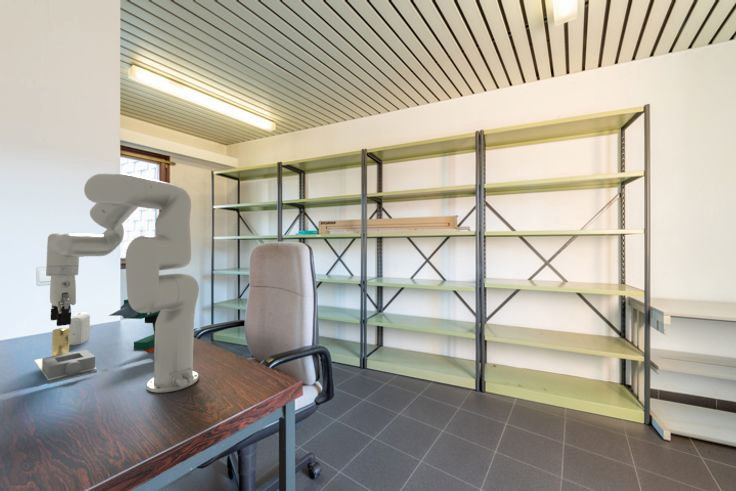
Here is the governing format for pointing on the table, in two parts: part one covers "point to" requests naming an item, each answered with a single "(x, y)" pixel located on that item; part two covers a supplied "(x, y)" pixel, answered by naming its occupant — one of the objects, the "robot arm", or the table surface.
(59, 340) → the tan rectangular block
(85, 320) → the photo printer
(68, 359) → the grey slotted block
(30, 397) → the table surface
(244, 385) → the table surface
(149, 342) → the power tool
